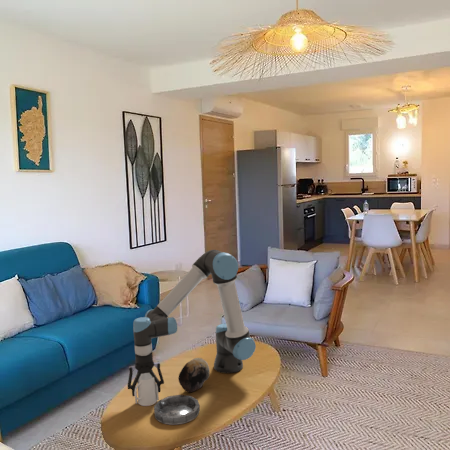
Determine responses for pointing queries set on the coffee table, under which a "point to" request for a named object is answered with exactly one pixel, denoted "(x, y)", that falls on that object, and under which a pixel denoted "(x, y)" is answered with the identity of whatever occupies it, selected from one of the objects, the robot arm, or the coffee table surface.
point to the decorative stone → (194, 374)
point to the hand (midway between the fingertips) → (147, 400)
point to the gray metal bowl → (176, 409)
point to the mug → (146, 390)
